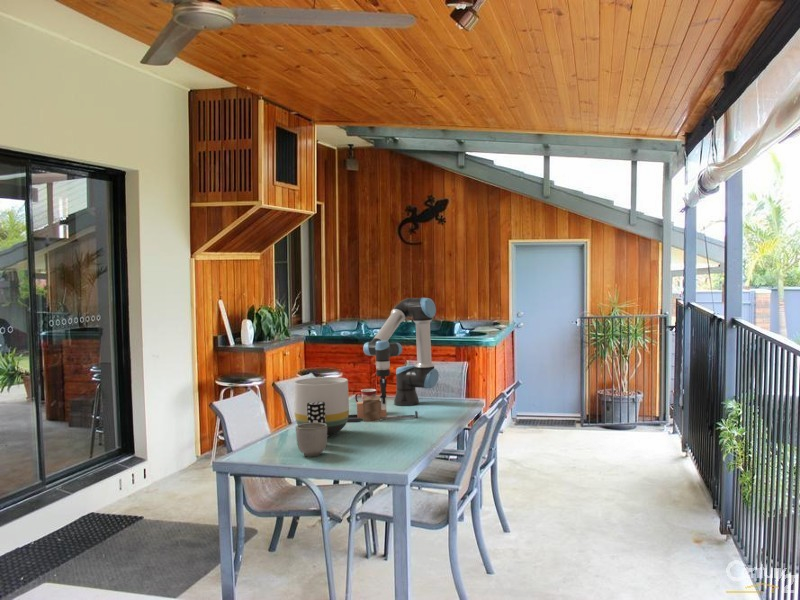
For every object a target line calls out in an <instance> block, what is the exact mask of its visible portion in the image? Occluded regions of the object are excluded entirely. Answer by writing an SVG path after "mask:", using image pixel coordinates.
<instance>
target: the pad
mask: <svg viewBox="0 0 800 600" xmlns="http://www.w3.org/2000/svg"><path fill="white" fill-rule="evenodd" d="M400 420H402V421H403V420H414V418H395V419H381V421H400Z"/></svg>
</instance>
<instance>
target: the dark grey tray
mask: <svg viewBox="0 0 800 600" xmlns="http://www.w3.org/2000/svg"><path fill="white" fill-rule="evenodd" d="M347 423H361V418H357V413H355V414H354V413H353V414H349V416H348V420H347Z"/></svg>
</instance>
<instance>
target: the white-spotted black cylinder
mask: <svg viewBox="0 0 800 600" xmlns="http://www.w3.org/2000/svg"><path fill="white" fill-rule="evenodd" d="M307 420H308V423H325V424H326V419H325V402H309V403H307Z"/></svg>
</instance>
